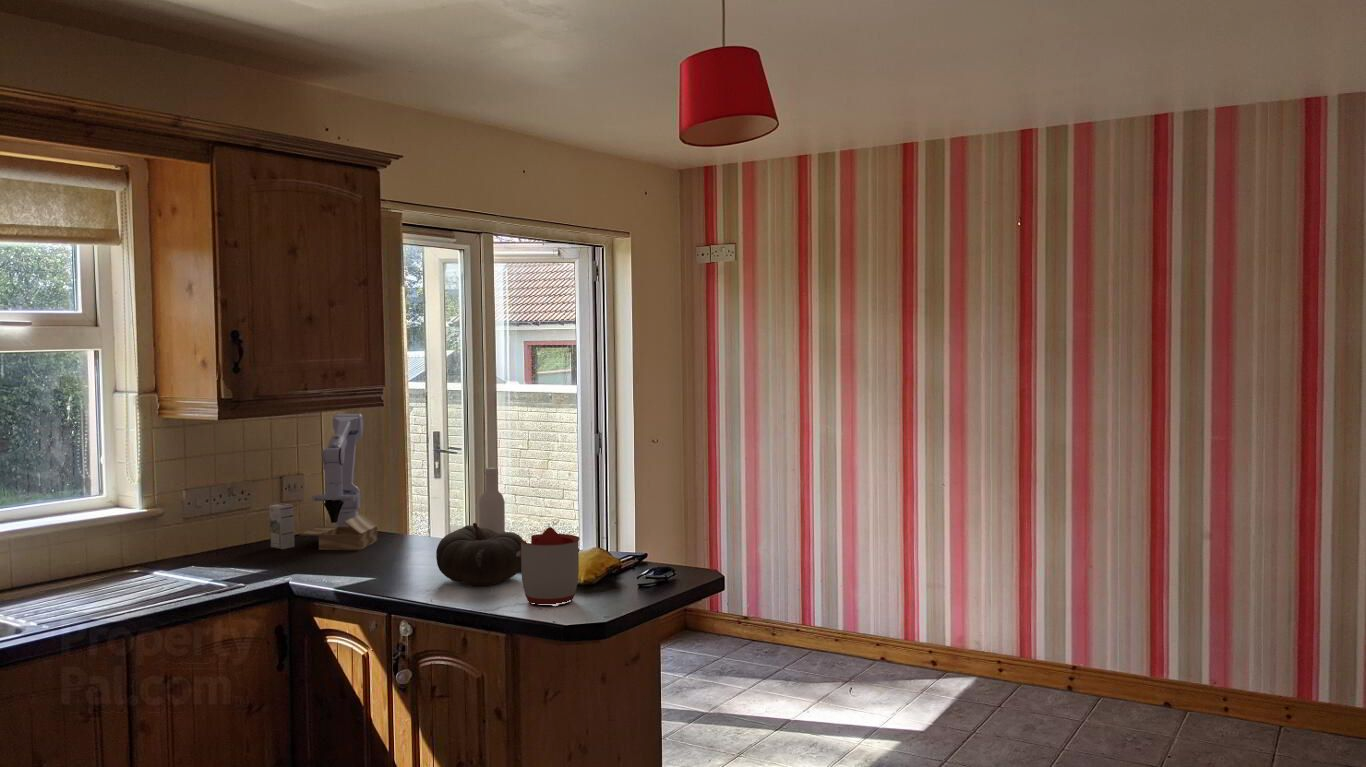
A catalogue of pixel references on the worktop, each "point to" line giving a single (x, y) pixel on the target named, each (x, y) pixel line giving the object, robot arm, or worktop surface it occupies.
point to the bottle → (492, 504)
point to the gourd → (479, 555)
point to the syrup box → (282, 526)
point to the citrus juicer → (550, 567)
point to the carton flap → (360, 524)
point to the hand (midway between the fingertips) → (334, 522)
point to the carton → (342, 538)
